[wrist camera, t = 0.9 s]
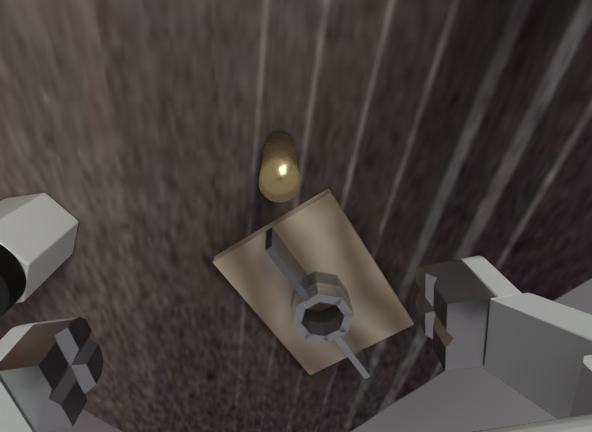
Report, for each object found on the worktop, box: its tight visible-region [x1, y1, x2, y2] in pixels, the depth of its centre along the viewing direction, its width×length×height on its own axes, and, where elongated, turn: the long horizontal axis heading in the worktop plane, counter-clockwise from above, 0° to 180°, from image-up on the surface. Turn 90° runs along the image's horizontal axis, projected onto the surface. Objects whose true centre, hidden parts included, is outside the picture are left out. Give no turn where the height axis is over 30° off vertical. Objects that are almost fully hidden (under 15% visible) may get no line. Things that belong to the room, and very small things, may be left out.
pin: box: [259, 131, 300, 202], centre depth 34 cm, size 3×3×12 cm
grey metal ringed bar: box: [265, 228, 370, 379], centre depth 44 cm, size 7×22×4 cm, turn 32°
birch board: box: [213, 188, 414, 375], centre depth 46 cm, size 16×22×2 cm
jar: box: [0, 193, 78, 317], centre depth 36 cm, size 9×8×12 cm
